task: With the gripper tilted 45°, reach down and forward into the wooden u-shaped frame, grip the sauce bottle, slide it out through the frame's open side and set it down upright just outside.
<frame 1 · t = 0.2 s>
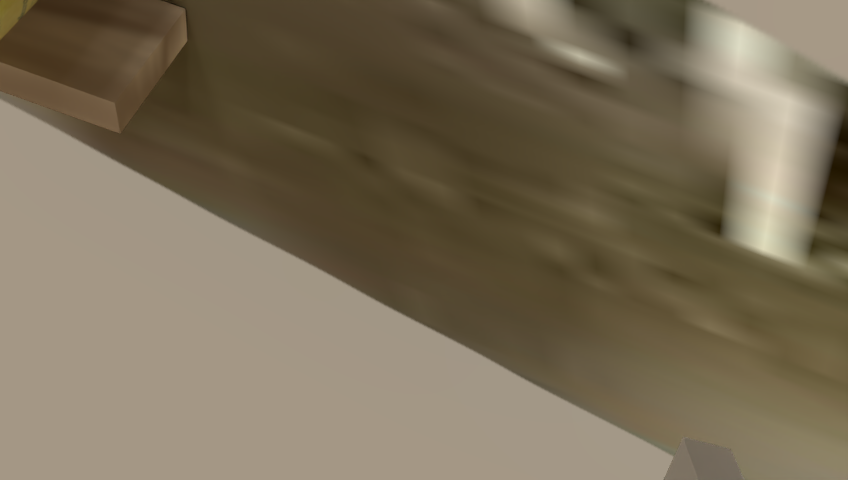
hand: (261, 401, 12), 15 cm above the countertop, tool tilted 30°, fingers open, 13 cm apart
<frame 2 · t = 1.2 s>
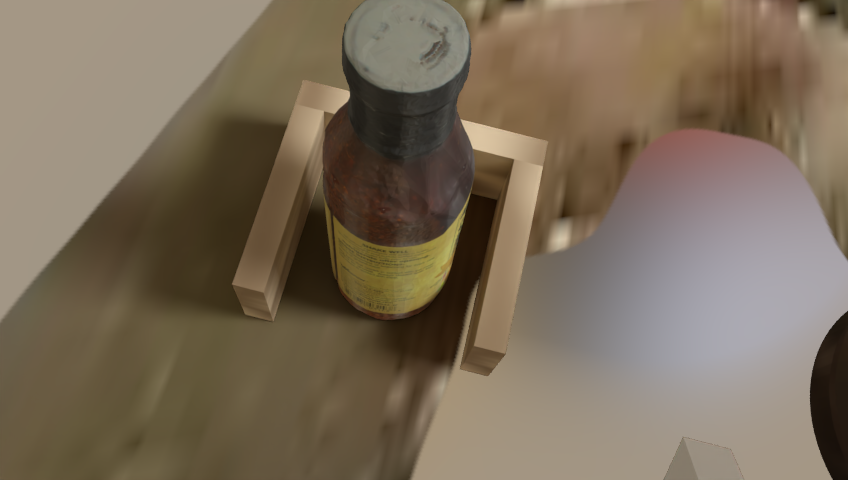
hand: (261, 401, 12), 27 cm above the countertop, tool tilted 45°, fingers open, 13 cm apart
wooden u-shaped frame: (387, 266, 42), on the countertop
sauce bottle: (387, 267, 42), on the countertop
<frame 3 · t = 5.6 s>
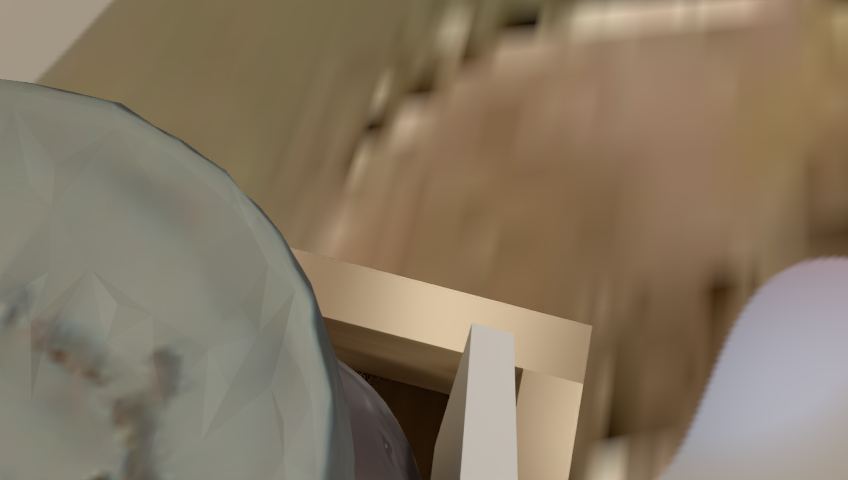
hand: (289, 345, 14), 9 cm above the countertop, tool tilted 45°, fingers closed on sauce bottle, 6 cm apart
when the fingers open (11 cm above the countertop, at t = 10.3 s): sauce bottle drops 1 cm, on the countertop.
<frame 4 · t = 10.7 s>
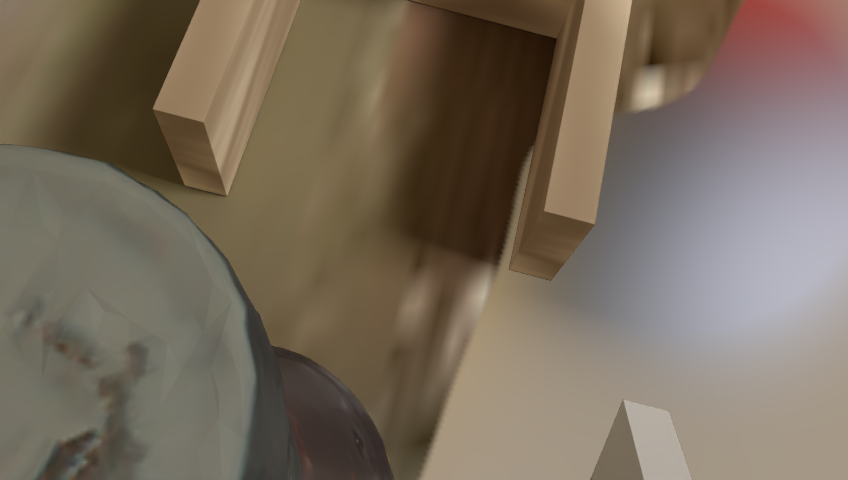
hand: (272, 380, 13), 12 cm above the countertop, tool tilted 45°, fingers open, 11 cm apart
wooden u-shaped frame: (399, 123, 28), on the countertop
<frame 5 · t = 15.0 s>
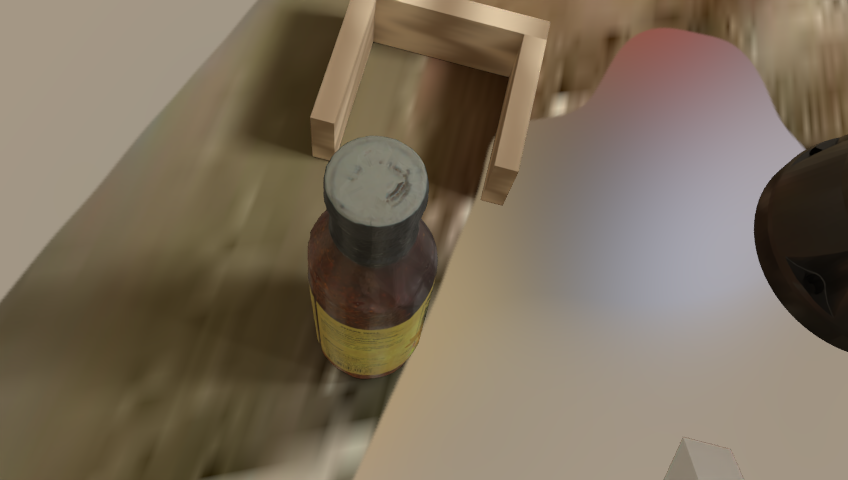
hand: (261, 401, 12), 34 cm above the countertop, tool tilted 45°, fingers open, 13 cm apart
wooden u-shaped frame: (423, 124, 53), on the countertop
sauce bottle: (366, 330, 48), on the countertop
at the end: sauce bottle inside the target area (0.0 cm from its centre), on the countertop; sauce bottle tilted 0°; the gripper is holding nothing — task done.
